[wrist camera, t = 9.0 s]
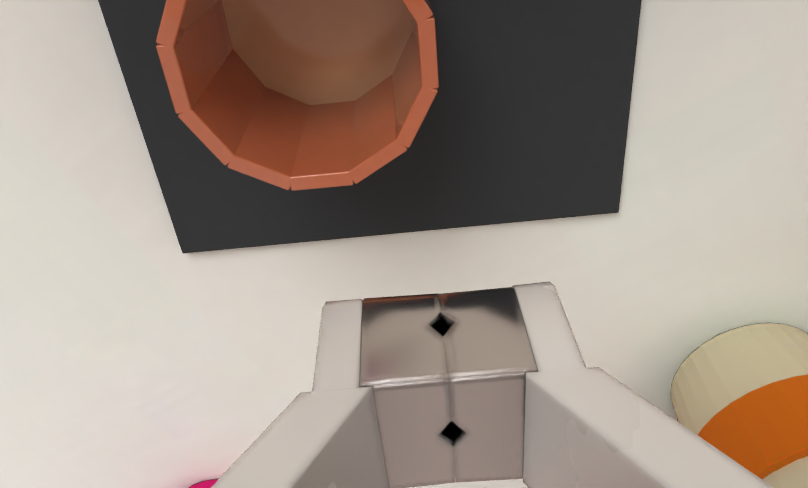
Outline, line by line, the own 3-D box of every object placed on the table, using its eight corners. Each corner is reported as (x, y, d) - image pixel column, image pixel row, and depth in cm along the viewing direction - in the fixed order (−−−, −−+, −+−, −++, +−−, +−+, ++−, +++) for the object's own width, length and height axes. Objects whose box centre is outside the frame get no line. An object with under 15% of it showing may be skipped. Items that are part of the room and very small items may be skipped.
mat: (-3, -316, 21) (-9, -318, 20) (679, -392, 20) (684, -396, 20) (184, 249, 33) (182, 253, 32) (616, 208, 32) (618, 212, 32)
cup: (414, -119, 24) (188, -95, 24) (427, -102, 17) (120, -70, 18) (429, 100, 28) (240, 119, 29) (444, 177, 22) (201, 200, 22)
